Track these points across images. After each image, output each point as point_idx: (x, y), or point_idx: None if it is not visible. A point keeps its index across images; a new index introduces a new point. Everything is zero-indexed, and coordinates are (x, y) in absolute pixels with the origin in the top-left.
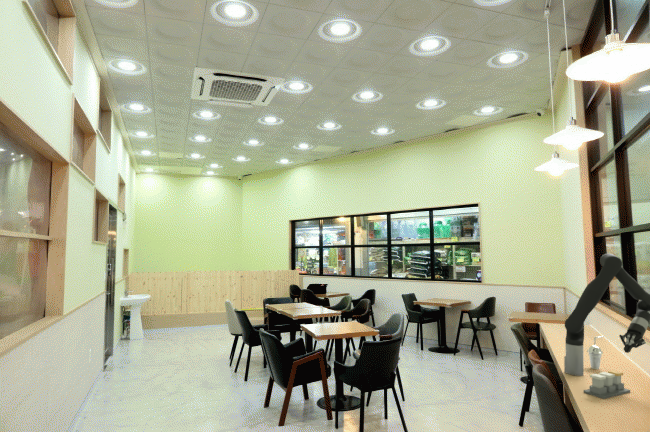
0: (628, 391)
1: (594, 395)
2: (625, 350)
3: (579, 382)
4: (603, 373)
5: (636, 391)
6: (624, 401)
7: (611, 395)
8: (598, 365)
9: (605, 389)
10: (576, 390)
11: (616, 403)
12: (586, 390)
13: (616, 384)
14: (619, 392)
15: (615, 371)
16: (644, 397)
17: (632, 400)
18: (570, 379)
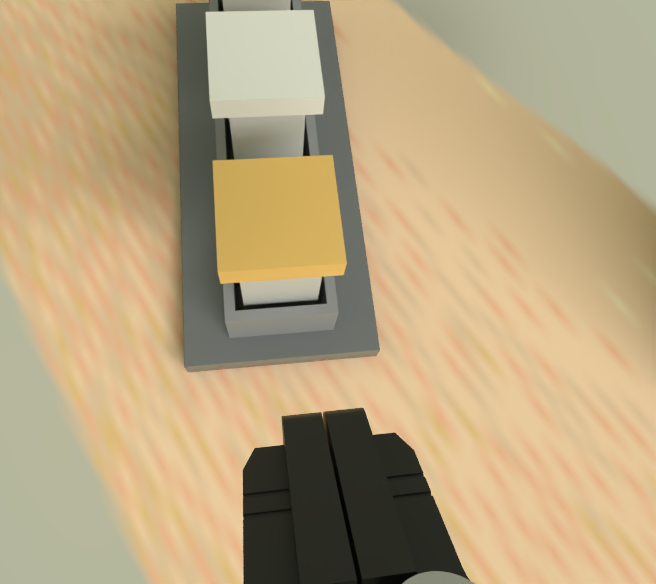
0: (185, 336)
1: None
2: (325, 418)
3: (535, 199)
4: (283, 31)
5: (181, 471)
6: (78, 101)
7: (179, 93)
8: None
9: None
10: (379, 15)
11: (83, 16)
12: (317, 13)
13: None
14: (183, 196)
15: (293, 230)
16: (44, 356)
17: (58, 177)
18: (620, 202)
